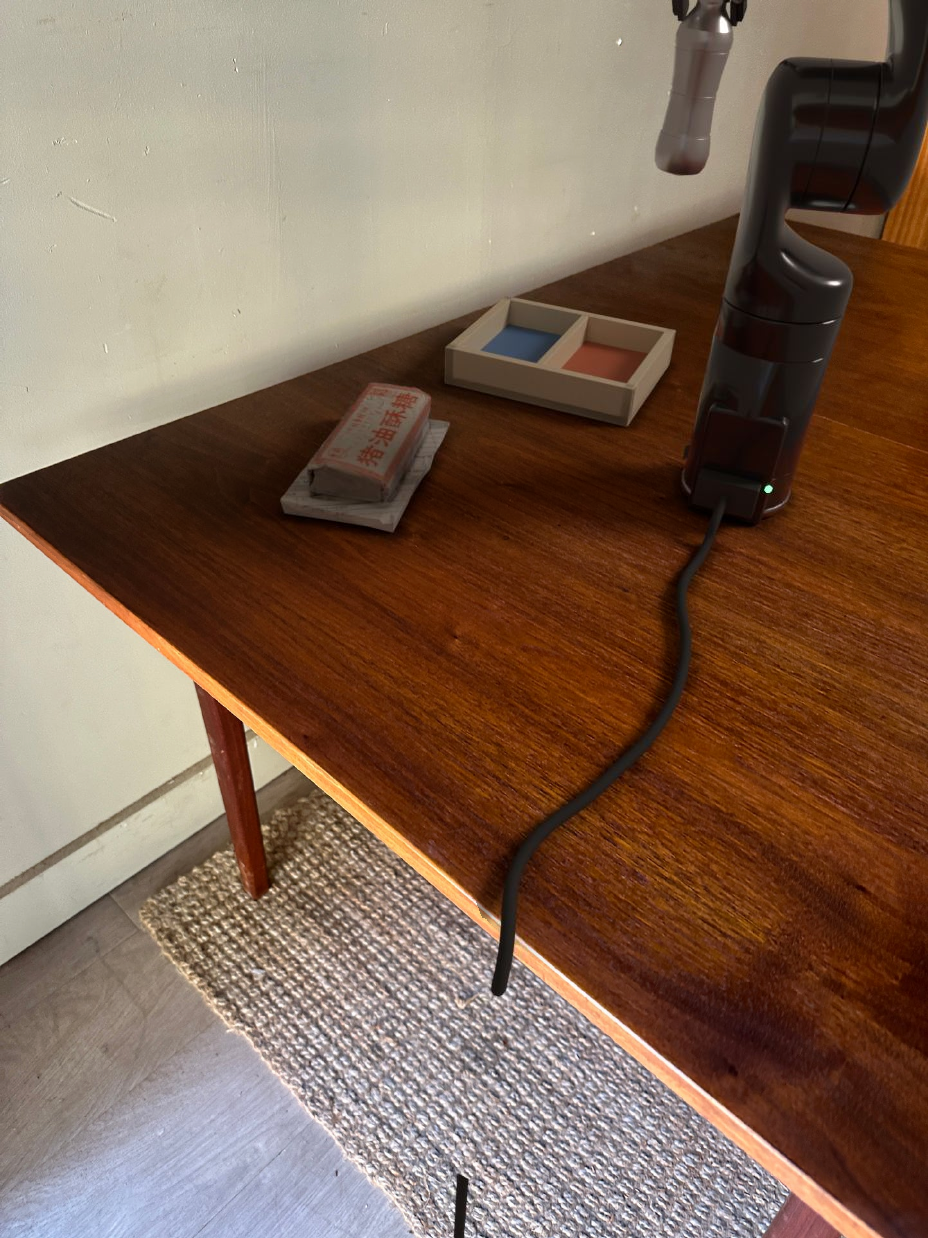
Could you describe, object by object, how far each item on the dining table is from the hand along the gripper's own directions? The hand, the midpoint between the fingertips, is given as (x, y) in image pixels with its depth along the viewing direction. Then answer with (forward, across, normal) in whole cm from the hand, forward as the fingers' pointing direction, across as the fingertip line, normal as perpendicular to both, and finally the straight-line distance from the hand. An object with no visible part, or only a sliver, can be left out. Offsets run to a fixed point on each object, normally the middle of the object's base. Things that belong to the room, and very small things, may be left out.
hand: (709, 16), depth 105 cm
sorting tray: (-5, -2, -47) cm, 47 cm away
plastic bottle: (+11, 0, -13) cm, 17 cm away
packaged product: (-24, -10, -66) cm, 71 cm away
